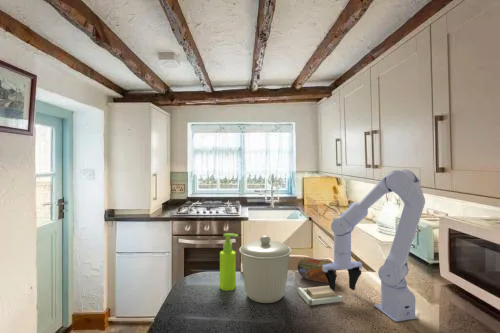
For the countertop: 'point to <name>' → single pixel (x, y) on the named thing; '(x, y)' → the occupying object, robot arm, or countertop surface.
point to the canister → (265, 269)
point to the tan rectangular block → (320, 292)
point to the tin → (313, 269)
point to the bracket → (318, 300)
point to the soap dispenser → (228, 264)
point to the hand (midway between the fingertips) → (342, 290)
